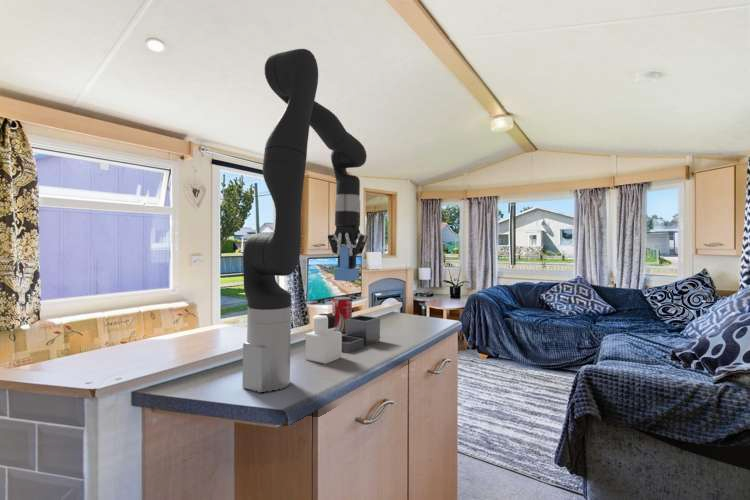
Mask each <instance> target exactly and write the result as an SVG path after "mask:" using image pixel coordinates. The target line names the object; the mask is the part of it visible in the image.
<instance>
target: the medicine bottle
mask: <svg viewBox="0 0 750 500" xmlns="http://www.w3.org/2000/svg"><path fill="white" fill-rule="evenodd" d="M334 330H335V316H334V315H332V313H331V314H330V313H319V314H318V313H317V314H316V315H313V316H312V331H310V332H307V333H305V347H304V348H305V355H304V356H305V360H306V361H311V362H316V363H320V364H324V365H326V364H329V363H331V362H333V361H336V360H338V359H341V358H342V335H343V332H338V331H334Z"/></svg>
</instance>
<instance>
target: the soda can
mask: <svg viewBox="0 0 750 500" xmlns="http://www.w3.org/2000/svg"><path fill="white" fill-rule="evenodd" d="M352 309H353V303H352V301H351V297H349V296H334V298H333V301H332V307H331V311H332V312H331V314H332V315H334V316H335V331H338V332H342V333H345V319H347V318H351V317H353V310H352Z"/></svg>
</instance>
